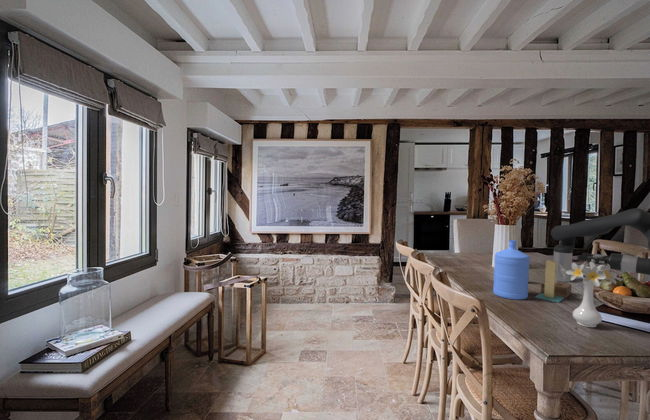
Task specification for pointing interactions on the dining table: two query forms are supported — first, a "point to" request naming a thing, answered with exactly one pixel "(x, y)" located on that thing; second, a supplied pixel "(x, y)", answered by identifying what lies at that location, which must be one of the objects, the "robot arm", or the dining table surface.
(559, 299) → the teal mat
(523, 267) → the water jug
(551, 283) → the tan wooden peg
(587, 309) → the flower vase
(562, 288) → the socket block
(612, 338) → the dining table surface
